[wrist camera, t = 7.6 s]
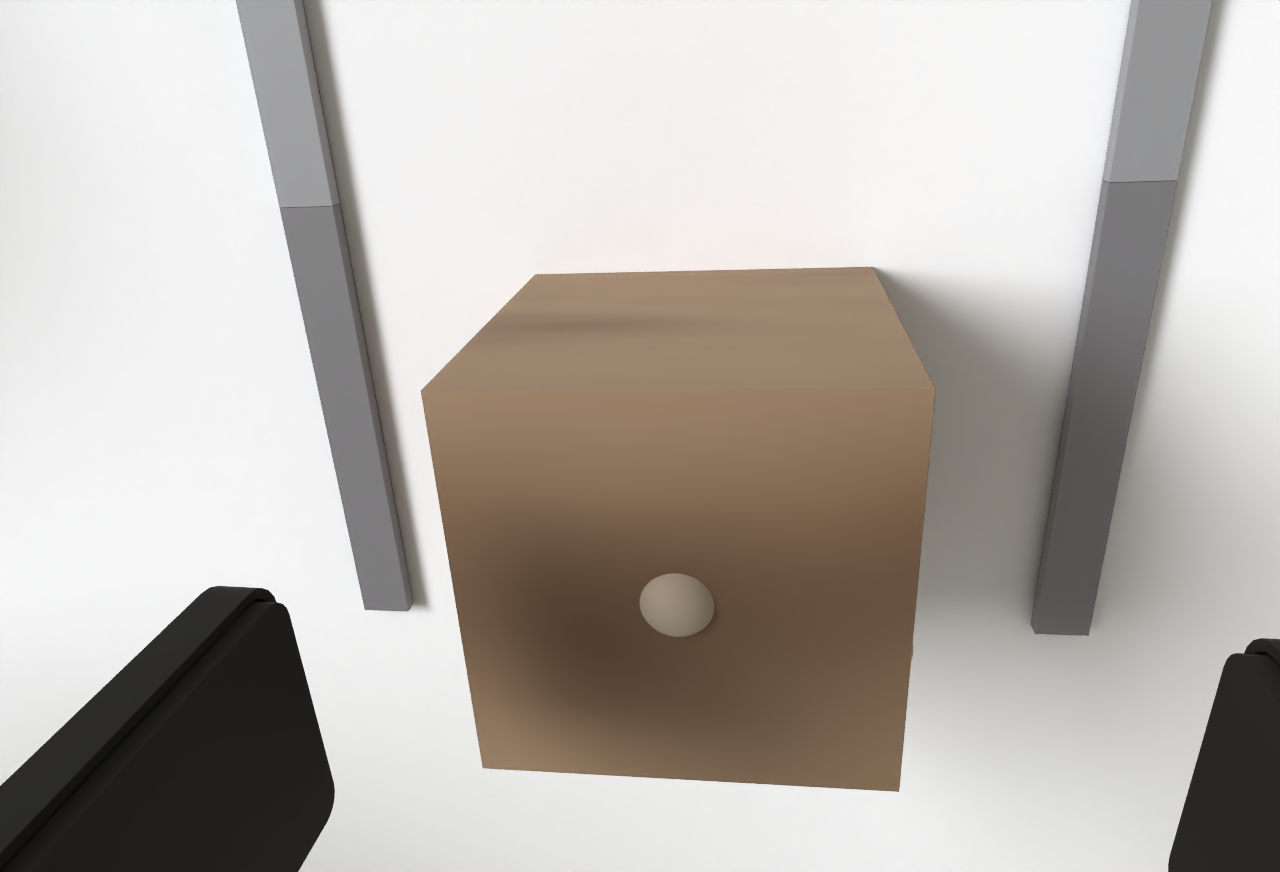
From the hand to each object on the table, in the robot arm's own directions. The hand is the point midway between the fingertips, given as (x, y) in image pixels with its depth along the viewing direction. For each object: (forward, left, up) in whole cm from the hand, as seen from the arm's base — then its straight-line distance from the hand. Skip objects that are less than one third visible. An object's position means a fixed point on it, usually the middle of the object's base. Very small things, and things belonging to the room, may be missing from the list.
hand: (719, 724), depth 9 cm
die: (0, +1, -8) cm, 8 cm away
